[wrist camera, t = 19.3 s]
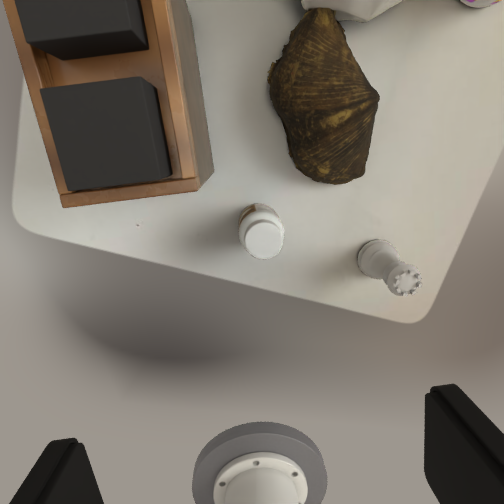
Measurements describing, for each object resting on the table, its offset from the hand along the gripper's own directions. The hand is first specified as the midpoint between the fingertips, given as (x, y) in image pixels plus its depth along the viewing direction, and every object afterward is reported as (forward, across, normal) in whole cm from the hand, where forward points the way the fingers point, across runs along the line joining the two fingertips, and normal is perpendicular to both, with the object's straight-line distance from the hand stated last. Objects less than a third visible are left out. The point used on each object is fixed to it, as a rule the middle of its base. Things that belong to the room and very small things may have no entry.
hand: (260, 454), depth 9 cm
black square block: (+15, +6, -10) cm, 19 cm away
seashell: (+29, -9, -11) cm, 33 cm away
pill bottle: (+30, -2, 0) cm, 30 cm away
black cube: (+14, +6, -17) cm, 23 cm away
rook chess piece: (+30, -15, +6) cm, 33 cm away
